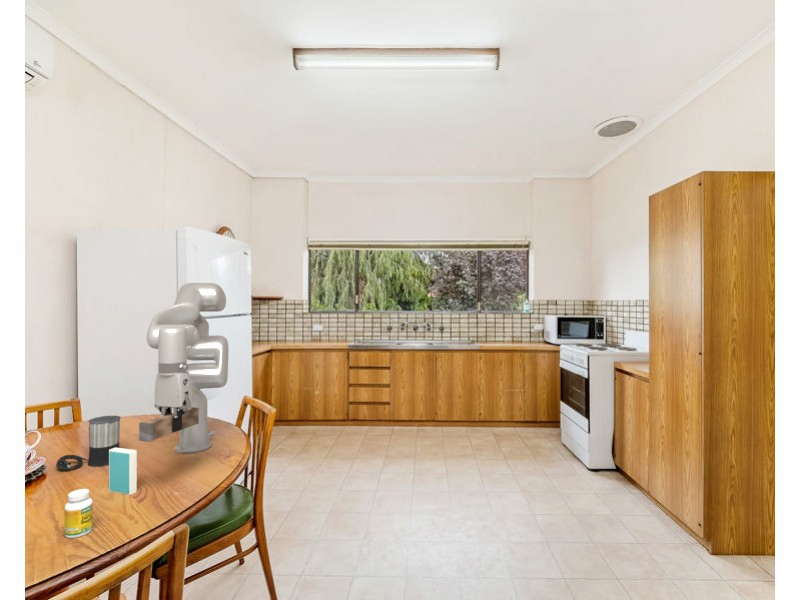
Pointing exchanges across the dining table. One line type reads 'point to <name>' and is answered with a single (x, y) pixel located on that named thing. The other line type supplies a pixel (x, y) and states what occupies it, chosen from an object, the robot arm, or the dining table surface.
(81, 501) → the supplement bottle
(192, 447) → the robot arm
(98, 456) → the milk frother
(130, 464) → the tile
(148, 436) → the bar
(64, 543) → the dining table surface
